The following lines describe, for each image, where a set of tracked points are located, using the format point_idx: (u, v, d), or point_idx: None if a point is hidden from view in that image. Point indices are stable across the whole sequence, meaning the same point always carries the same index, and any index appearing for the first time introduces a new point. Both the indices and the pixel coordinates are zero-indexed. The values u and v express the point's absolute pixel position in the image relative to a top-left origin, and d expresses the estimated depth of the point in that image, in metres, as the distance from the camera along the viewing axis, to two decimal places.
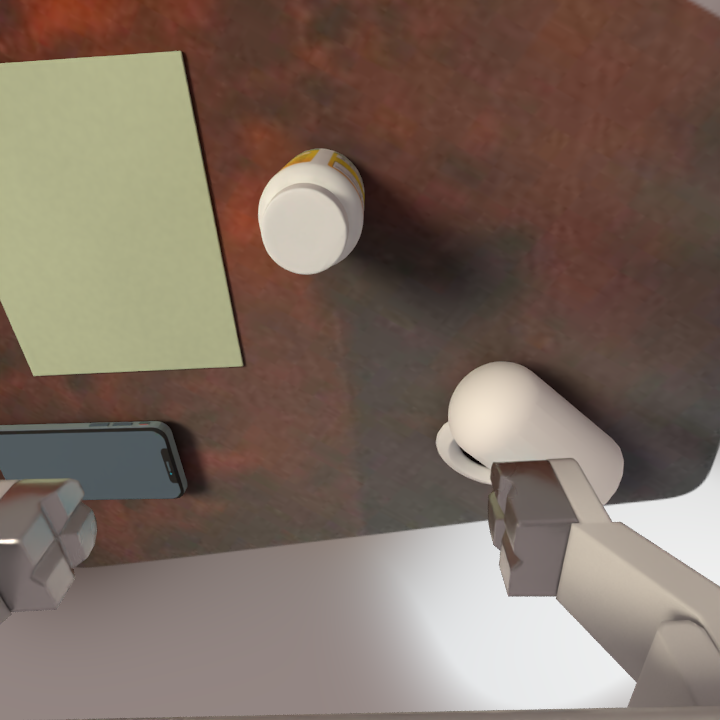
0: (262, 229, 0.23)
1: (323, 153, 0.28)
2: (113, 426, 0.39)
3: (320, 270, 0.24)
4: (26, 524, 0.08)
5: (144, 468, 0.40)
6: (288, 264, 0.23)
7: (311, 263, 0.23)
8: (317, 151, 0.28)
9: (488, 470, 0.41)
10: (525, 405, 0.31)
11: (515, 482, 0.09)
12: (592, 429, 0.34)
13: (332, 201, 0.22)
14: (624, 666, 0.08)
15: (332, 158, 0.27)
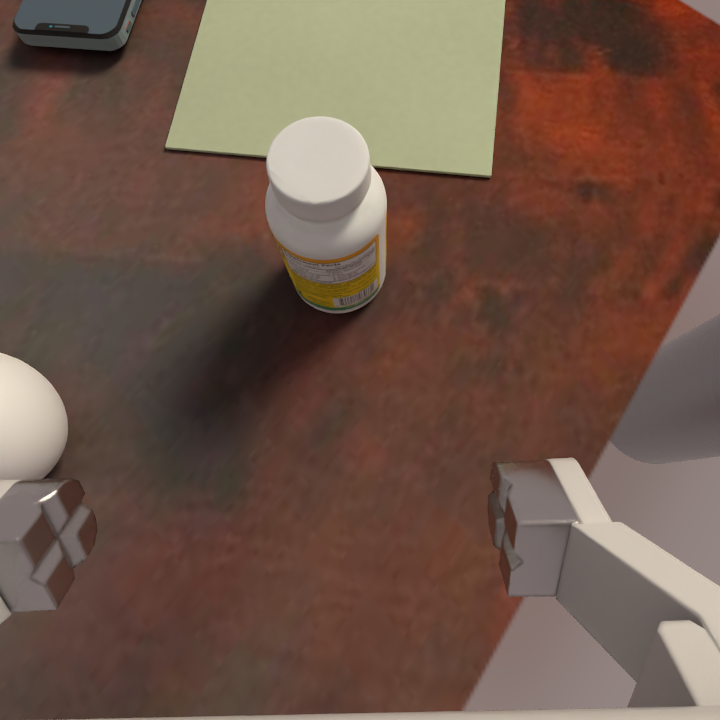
0: (332, 118, 0.19)
1: (383, 263, 0.25)
2: None
3: (268, 167, 0.19)
4: (26, 524, 0.08)
5: (69, 4, 0.32)
6: (285, 135, 0.19)
7: (279, 159, 0.19)
8: (385, 263, 0.26)
9: None
10: None
11: (515, 482, 0.09)
12: None
13: (346, 195, 0.18)
14: (624, 667, 0.08)
15: (378, 264, 0.24)
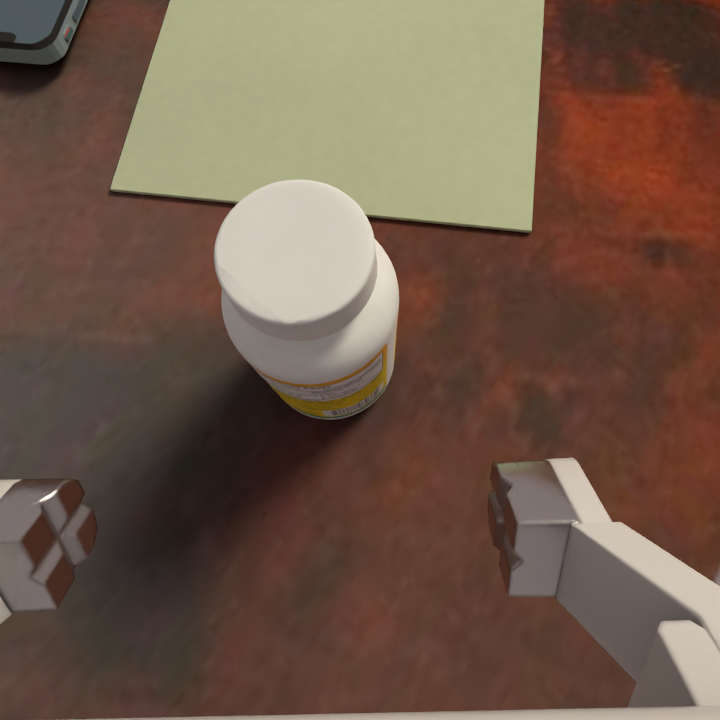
0: (317, 183, 0.13)
1: (391, 362, 0.18)
2: None
3: (217, 261, 0.12)
4: (26, 524, 0.08)
5: None
6: (245, 210, 0.12)
7: (235, 248, 0.12)
8: None
9: None
10: None
11: (515, 482, 0.09)
12: None
13: (339, 309, 0.12)
14: (624, 666, 0.08)
15: (385, 368, 0.17)
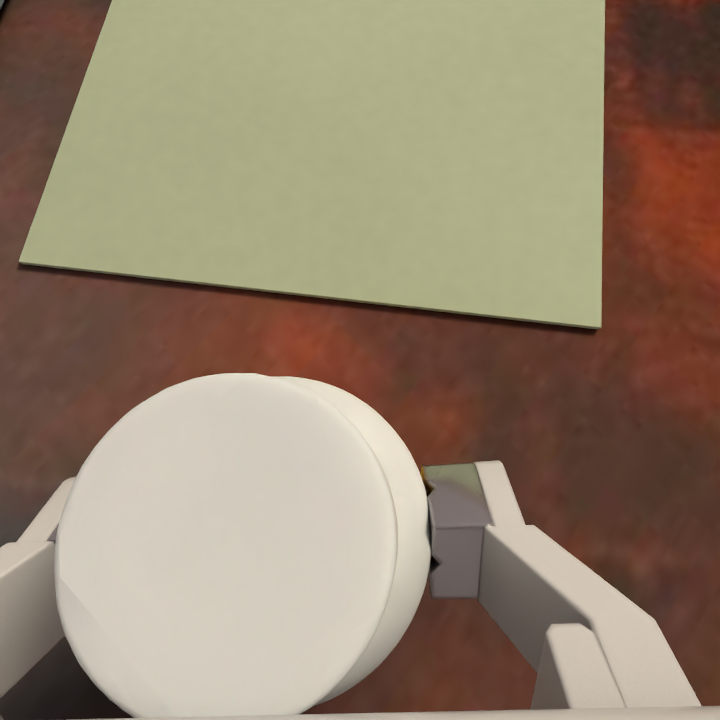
0: (276, 383, 0.06)
1: None
2: None
3: (58, 569, 0.06)
4: None
5: None
6: (125, 445, 0.06)
7: (98, 537, 0.06)
8: None
9: None
10: None
11: (437, 485, 0.09)
12: None
13: (318, 701, 0.05)
14: (536, 668, 0.08)
15: None
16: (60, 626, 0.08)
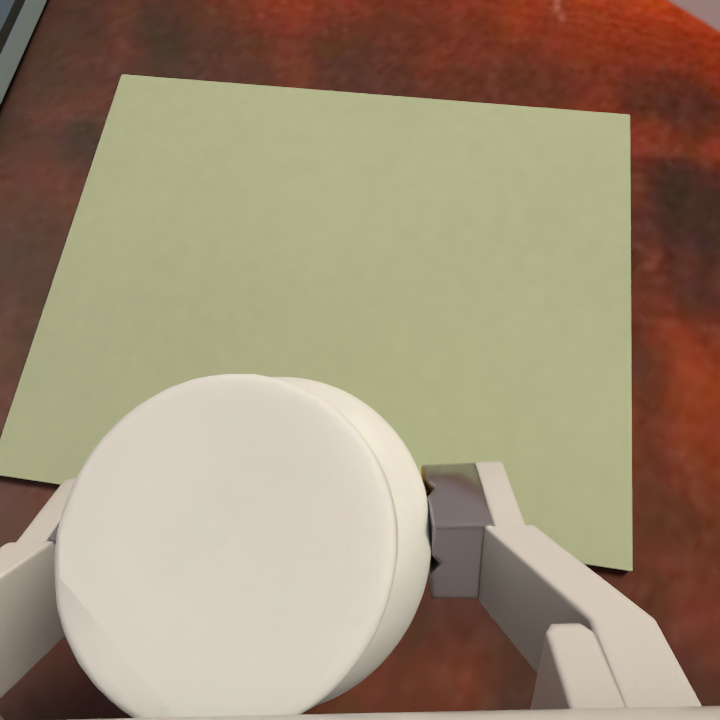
0: (276, 384, 0.06)
1: None
2: None
3: (58, 570, 0.06)
4: None
5: None
6: (125, 446, 0.06)
7: (99, 538, 0.06)
8: None
9: None
10: None
11: (437, 485, 0.09)
12: None
13: (319, 701, 0.05)
14: (536, 668, 0.08)
15: None
16: (61, 626, 0.08)
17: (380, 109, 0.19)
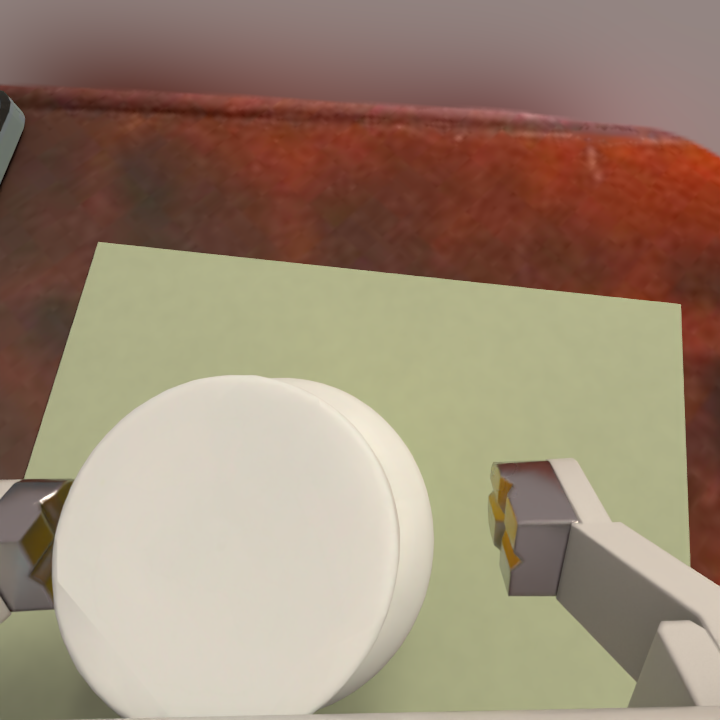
0: (277, 385, 0.06)
1: None
2: None
3: (56, 574, 0.06)
4: (26, 524, 0.08)
5: None
6: (124, 448, 0.06)
7: (97, 541, 0.06)
8: None
9: None
10: None
11: (515, 482, 0.09)
12: None
13: (319, 708, 0.05)
14: (624, 666, 0.08)
15: None
16: None
17: (393, 292, 0.17)
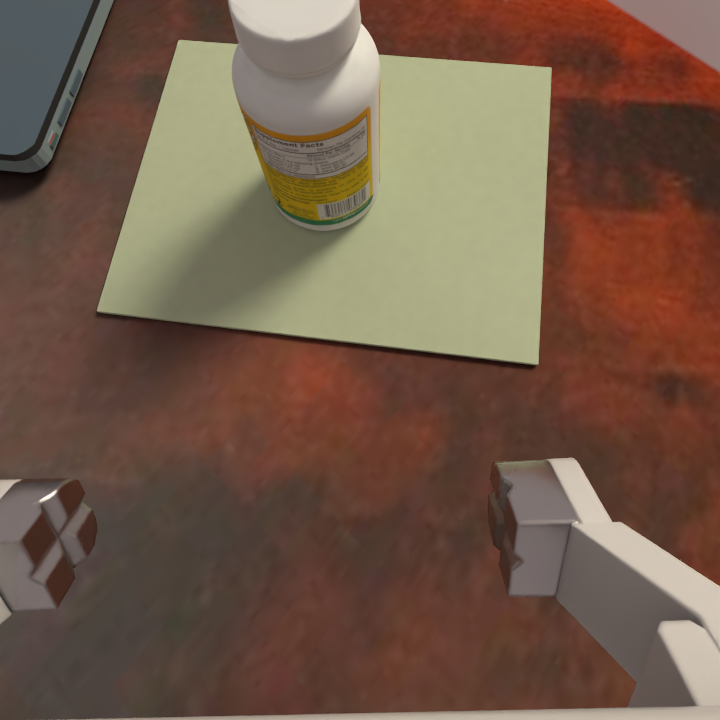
0: None
1: (376, 164, 0.21)
2: (65, 98, 0.25)
3: None
4: (26, 524, 0.08)
5: None
6: None
7: None
8: (379, 167, 0.22)
9: None
10: None
11: (515, 482, 0.09)
12: None
13: (328, 30, 0.15)
14: (624, 666, 0.08)
15: (370, 159, 0.20)
16: None
17: None
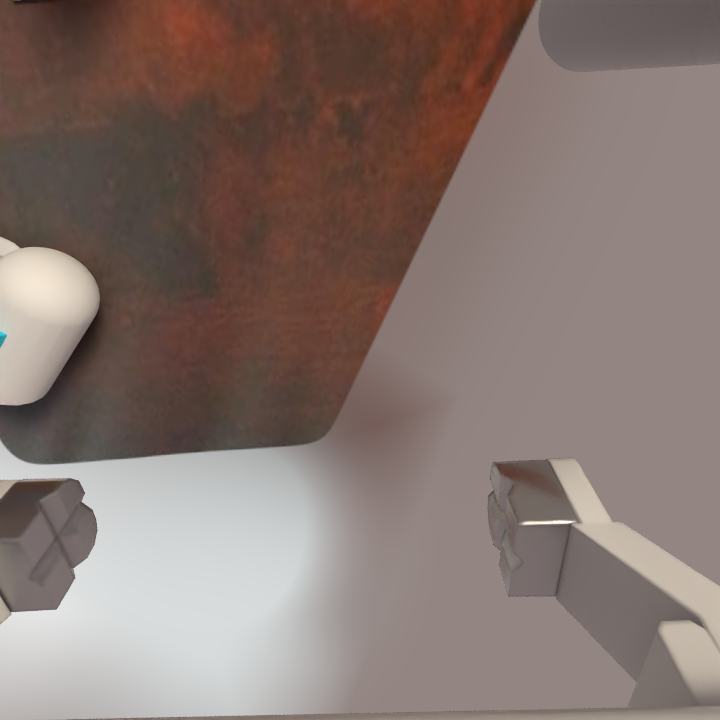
0: None
1: None
2: None
3: None
4: (26, 524, 0.08)
5: None
6: None
7: None
8: None
9: None
10: (61, 317, 0.35)
11: (515, 482, 0.09)
12: (53, 372, 0.40)
13: None
14: (625, 666, 0.08)
15: None
16: None
17: None
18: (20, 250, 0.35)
